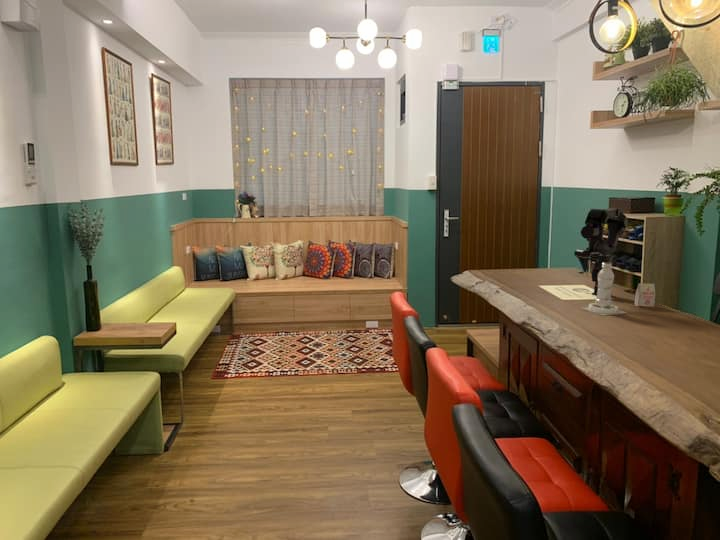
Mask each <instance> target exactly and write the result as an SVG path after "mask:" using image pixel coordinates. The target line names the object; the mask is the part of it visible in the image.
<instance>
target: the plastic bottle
mask: <svg viewBox="0 0 720 540" xmlns="http://www.w3.org/2000/svg"><path fill="white" fill-rule="evenodd" d="M612 265H613V264H612V262H611V263H607V262H603V263H602V269H601V270H600V272H599V273H598V292H597V295H596V298H595V300H594V303H595V307H597V308H604V309H610V308H611V305H613V304H612V296H611V295H612V289H613V285H614V284H613V280H614V281H615V279H614V278H615V274H614V271H612V270H611V268H612V269H613V266H612Z"/></svg>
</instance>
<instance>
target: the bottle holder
mask: <svg viewBox="0 0 720 540" xmlns="http://www.w3.org/2000/svg"><path fill="white" fill-rule="evenodd" d="M579 309H580V310H583V311H586V312H590V313H592V314H596V315H599V316H603V317H605V316H614V315H624V313H625V314H628V313H627V311H623V310H619V306H617V305H614V304H612V305H611V308H610V309H604V308H597V307H595V302H591V303H589V304H588V306H585V307H579Z"/></svg>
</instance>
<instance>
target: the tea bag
mask: <svg viewBox="0 0 720 540" xmlns="http://www.w3.org/2000/svg"><path fill="white" fill-rule="evenodd" d="M655 288H656V286H655V283H638V284H637V288H636V290H635V296H634V304H635V305H634V306H636V305H637V306H643V307H642V308H655V299H656V289H655ZM637 306H636V307H637Z"/></svg>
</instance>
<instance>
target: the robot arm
mask: <svg viewBox="0 0 720 540" xmlns="http://www.w3.org/2000/svg"><path fill="white" fill-rule="evenodd" d="M584 224H585V225H584V226H583V227H582V228H581V230H580V235H581V237H582V238H583V239H586V241H587V242H588V245H587V247H585V249H584V248H578V249H575V250H574V256H575V257H576V258H577V259H578V261H579V263H580V265H581V268H582V270H583V272H584V273H587V270H588V264H589V261H590V259H591V257H590V256H591V255H592V256H593V255H597V261H596V262H595V263H594V266H593V268H592V270H591V282H594V287H593V292H591V295H595V296H597V292H598V273H599V272H600V270H601V269H602V263H603V262H607V263H612V261H613V258H614V256H615V253H616V248H617V245H618V242H619V238H620V237H621V236H622V235H623V234H624V233H626V230H627V228H628V226H629V219H628V218H627V216H626V215H625V214H624V213H623V212H622V210H621V208H619V207H609V208H605V209H604V208H603V209H602V208H591V209H590V210H589V212H588V214H587V215H586V218H585V221H584ZM605 224H606V225H607V227H606V225H605ZM605 227H606V228H607V230H608V235H607V239H606V240H605V239H604V229H605ZM611 270H612V272H614V271H613V267H612V268H611ZM614 284H615V277H614V280H613V284H612V285H614ZM612 295H613V294H611V297H612Z"/></svg>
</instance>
